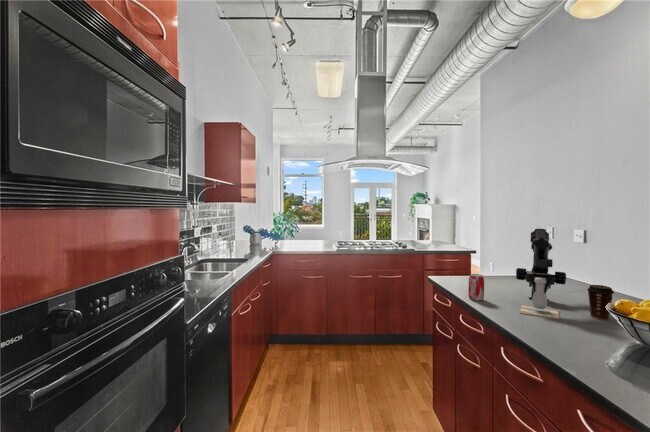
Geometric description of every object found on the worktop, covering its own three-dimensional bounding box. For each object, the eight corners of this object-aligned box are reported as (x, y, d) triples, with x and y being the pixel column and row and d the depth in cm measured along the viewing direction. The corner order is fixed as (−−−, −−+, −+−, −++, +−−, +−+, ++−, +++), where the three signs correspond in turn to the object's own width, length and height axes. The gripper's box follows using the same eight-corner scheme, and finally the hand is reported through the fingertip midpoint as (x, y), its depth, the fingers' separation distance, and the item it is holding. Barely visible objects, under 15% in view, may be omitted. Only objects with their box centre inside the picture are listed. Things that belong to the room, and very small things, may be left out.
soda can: (485, 301, 167) (486, 276, 167) (469, 300, 169) (470, 276, 168) (481, 298, 174) (482, 274, 174) (466, 297, 176) (467, 273, 175)
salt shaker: (528, 305, 155) (529, 276, 154) (540, 305, 155) (541, 276, 155) (537, 309, 149) (538, 279, 148) (550, 309, 150) (551, 279, 149)
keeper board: (521, 305, 162) (521, 304, 162) (557, 310, 154) (557, 309, 154) (519, 313, 150) (519, 312, 150) (559, 319, 142) (559, 318, 142)
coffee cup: (608, 315, 148) (609, 285, 148) (617, 321, 140) (618, 289, 140) (583, 313, 151) (584, 283, 151) (591, 319, 143) (592, 287, 143)
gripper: (516, 250, 159) (514, 278, 150) (566, 253, 150) (567, 284, 141) (517, 264, 166) (515, 293, 158) (564, 269, 157) (565, 299, 148)
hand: (539, 292), depth 151 cm, fingers closed on salt shaker, 3 cm apart
